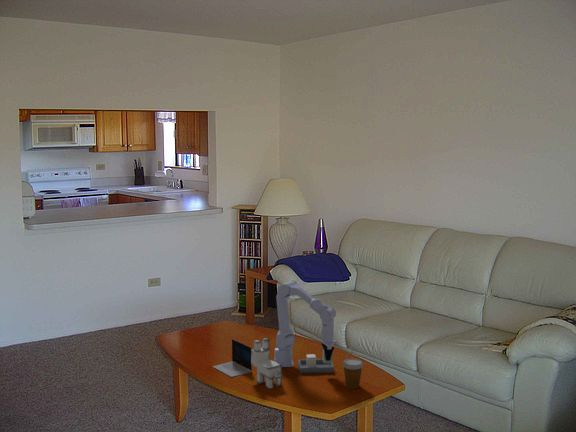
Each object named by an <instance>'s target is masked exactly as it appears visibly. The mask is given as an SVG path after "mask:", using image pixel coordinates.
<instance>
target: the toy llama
mask: <svg viewBox="0 0 576 432" xmlns="http://www.w3.org/2000/svg"><path fill="white" fill-rule="evenodd" d="M270 353H271V352H270V339H269V338H268V337H264V338H262V341H261V340H259V339H257V340H253V348H252V349H251V365H252V367H255V368H256V382H257V383H258V384H259V385H261V384H264V383H265V388H267V389H270V390H271V389H273V388H274V386H276V387H279V386H282V385H283V379H282V378H283V367H282V365H281V364H279V363H277V362H275V361H274V359H270V357H271V355H270Z"/></svg>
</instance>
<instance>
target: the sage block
mask: <svg viewBox="0 0 576 432" xmlns="http://www.w3.org/2000/svg"><path fill="white" fill-rule="evenodd" d="M333 355H334V351H333V352H332V355H331V360H330V361H326V358H325V352H324V350H323V349H322V359H323V363H334V362H333V357H334V356H333Z"/></svg>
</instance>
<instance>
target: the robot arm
mask: <svg viewBox="0 0 576 432" xmlns="http://www.w3.org/2000/svg"><path fill="white" fill-rule="evenodd" d="M291 296H292V297H293V296H297V297H299V298H300V299H301V300H304V302H306V303H307V304H309V308H310V309H311V310H313V311H314V312H315V313H317V314H318V315H319V318H320V320H321V343H320V344H321V346H322V351H323V350H324V352H325V358H326V361H330V360H331V355H332V352H333V353H334V350H335V347H334V346H333V345H334V344H335V343H336V342H337V340H336V339H334V338H335V337H334V327H335V326H334V324H335V322H334V318H335V317H336V315H337V312H336V310H335V308H334V307H332V306H328V305H327V304H325V303H324V302H322V300H321V299H320V298H313V296H311V295H310V294H309V293H308V292H307V291H306V290H305V289H304V288H303V287H302V285H301V284H300V283H298V282H297V281H296V280H290V281H288V282H285V283H281V284H280V285H279V286H278V287H277V294H276V296H275V300H276V307H277V310H276V311H277V319H278V327H279V328H278V332H277V334H276V339H275V346H276V347H275V348H274V359H273V361H275V362H277V363H279V364H281V365H282V368H293V367H294V366H295V365H294V361H293V347H294V344H295V343H296V338H295V334H294V331H293V330H292V329H291V327H290V326H291V325H290V316H289V315H290V314H289V305H288V299H289V298H290V297H291Z"/></svg>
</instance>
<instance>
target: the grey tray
mask: <svg viewBox="0 0 576 432" xmlns="http://www.w3.org/2000/svg"><path fill="white" fill-rule="evenodd" d="M333 363H334V362H333ZM333 363H323V358H316V367H306V359H298V360H297V366H298V370H299V374H300V375H303V374H304V375H305V374H308V375H309V374H334V373H335V367H334V364H333Z"/></svg>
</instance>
